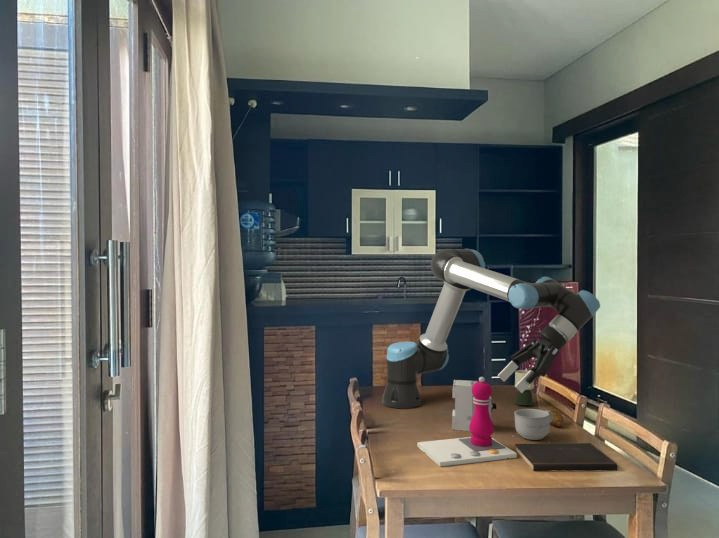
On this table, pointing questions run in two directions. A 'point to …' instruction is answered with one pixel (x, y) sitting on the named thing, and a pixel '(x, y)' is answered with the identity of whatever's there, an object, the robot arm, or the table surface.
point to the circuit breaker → (464, 404)
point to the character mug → (526, 396)
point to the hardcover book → (565, 457)
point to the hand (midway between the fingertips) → (509, 384)
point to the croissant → (556, 418)
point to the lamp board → (464, 451)
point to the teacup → (532, 423)
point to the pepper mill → (481, 414)
